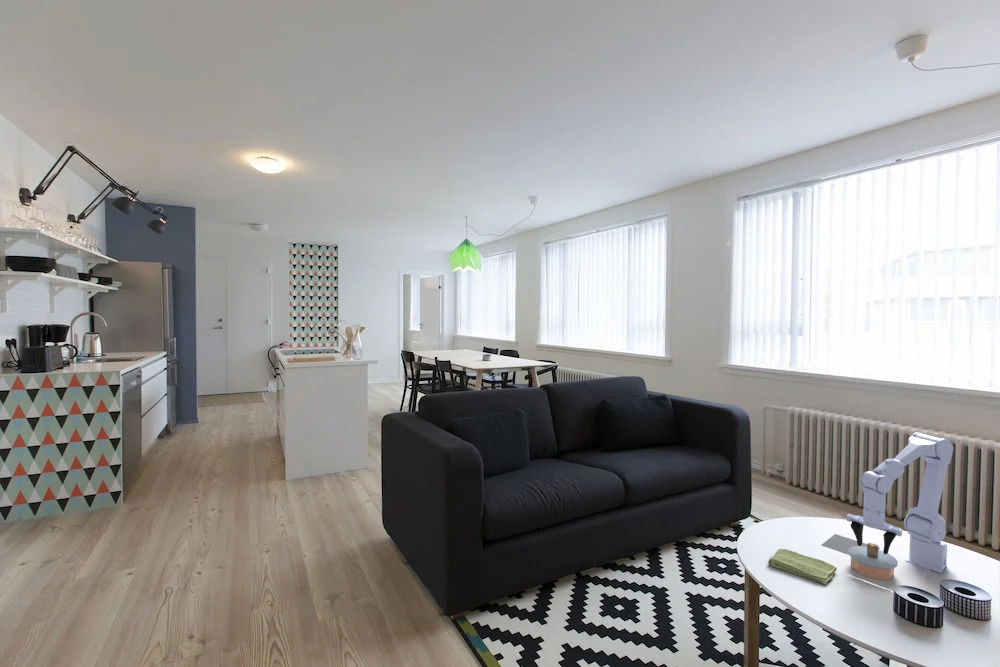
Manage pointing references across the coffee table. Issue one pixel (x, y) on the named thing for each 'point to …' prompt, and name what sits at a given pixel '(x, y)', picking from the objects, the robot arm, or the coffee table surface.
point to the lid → (872, 556)
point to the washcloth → (802, 565)
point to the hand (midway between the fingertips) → (872, 549)
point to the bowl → (872, 570)
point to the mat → (841, 543)
